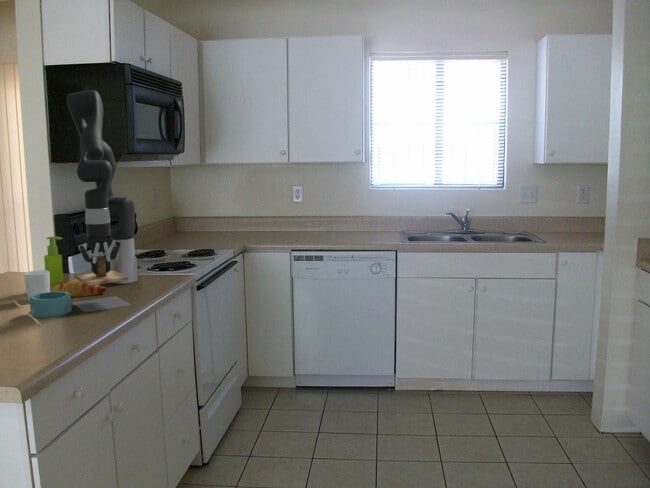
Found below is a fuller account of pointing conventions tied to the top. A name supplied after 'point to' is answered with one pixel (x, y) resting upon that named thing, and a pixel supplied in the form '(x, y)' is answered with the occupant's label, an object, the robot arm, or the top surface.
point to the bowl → (50, 304)
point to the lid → (101, 274)
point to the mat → (101, 304)
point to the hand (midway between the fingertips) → (101, 272)
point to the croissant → (78, 288)
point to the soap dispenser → (54, 262)
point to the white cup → (37, 282)
